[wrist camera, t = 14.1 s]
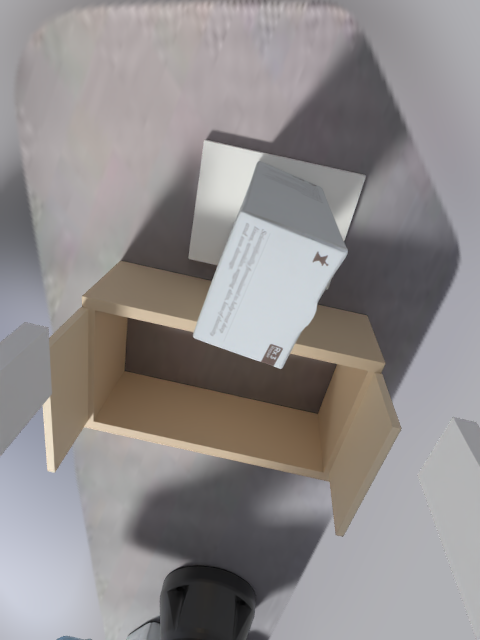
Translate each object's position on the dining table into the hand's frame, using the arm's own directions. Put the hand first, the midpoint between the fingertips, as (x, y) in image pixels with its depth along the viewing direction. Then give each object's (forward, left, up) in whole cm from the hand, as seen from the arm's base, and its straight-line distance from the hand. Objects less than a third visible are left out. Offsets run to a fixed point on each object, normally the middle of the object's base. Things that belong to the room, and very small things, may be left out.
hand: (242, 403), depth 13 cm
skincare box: (0, 0, -24) cm, 24 cm away
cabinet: (-14, +1, -24) cm, 28 cm away
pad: (0, 0, -24) cm, 24 cm away
